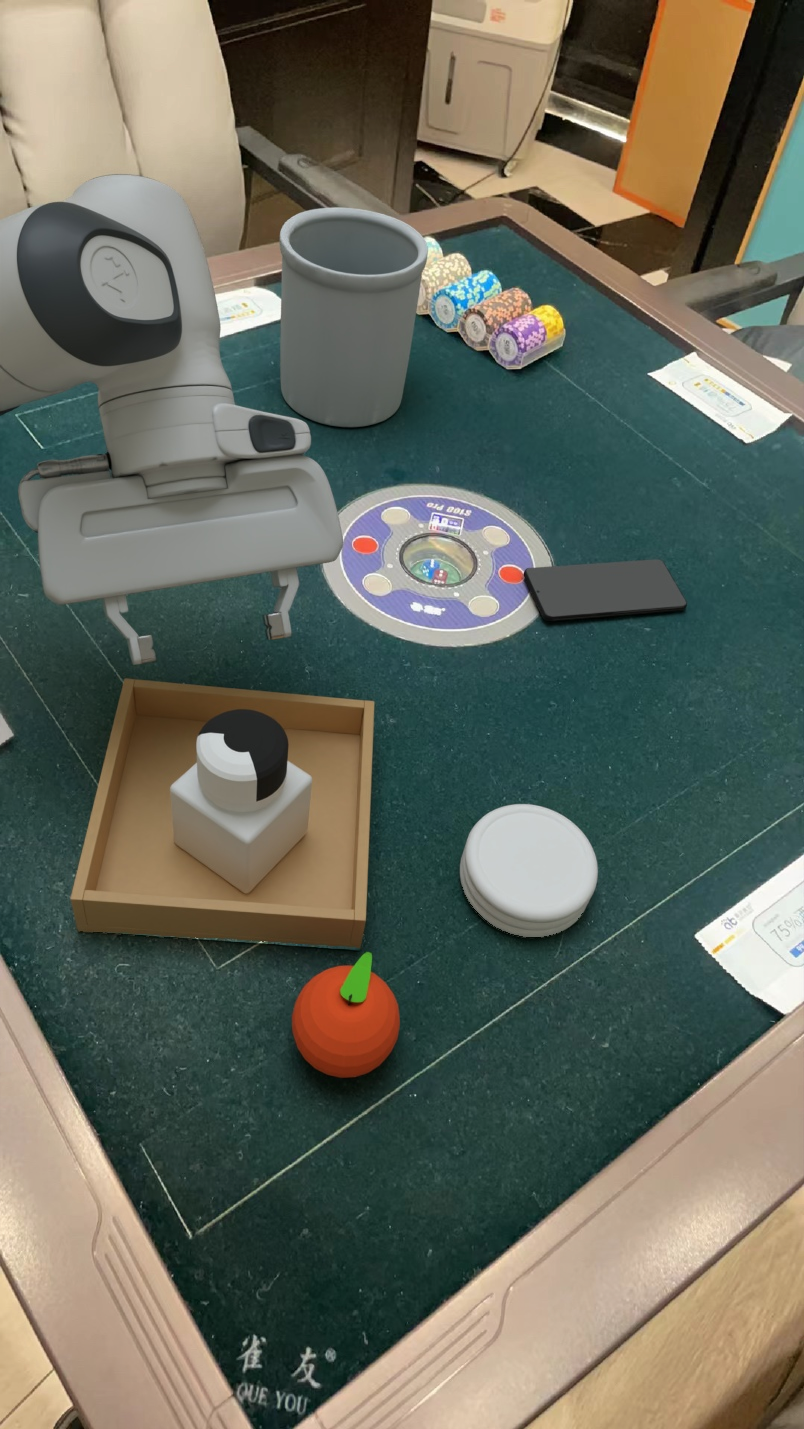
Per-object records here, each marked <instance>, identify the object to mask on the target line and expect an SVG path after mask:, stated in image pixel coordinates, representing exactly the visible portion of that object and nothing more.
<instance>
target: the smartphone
mask: <svg viewBox="0 0 804 1429" xmlns="http://www.w3.org/2000/svg"><path fill="white" fill-rule="evenodd" d="M522 577H523V578H524V581H525V582H526V585H527V587H528V590H529V592H530V594H531V596H532V598H533V601H534V603H535V604H536V606H537V609H538V610H539V613H540V615H541V617H542V619H543V620H544V621H546V622H557V621H558V622H559V621H560V622H561V621H569V620H570V621H571V620H582V619H595V618H605V617H607V618H608V617H618V616H619V617H620V616H631V615H642V614H643V615H644V614H657V613H666V612H668V613H669V612H679V611H684V610H686V608H688V602H687V600H686V598H685V596H684V595H683V593H682V591H681V589H680V588H679V585H678V584H677V583H676V581H675V579H674V577H673V576H672V574H671V572H670V571H669V569H668V567H667V565H666V564H665V562H664V561H663V559H660V558H659V559H658V558H654V559H641V560H640V559H639V560H624V561H612V562H611V561H610V562H609V561H608V562H597V563H596V562H594V563H580V564H568V565H555V566H537V567H528V568H525V569H524V571H523V576H522Z"/></svg>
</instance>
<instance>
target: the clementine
mask: <svg viewBox="0 0 804 1429" xmlns="http://www.w3.org/2000/svg"><path fill="white" fill-rule="evenodd" d="M372 954H373V953H372V952H369V951H366V952H364V953H363V954H362V955H361V956H360V957H359V959H358V960H357V961H356V963H354V964H353V965H351V964H350V965H337V966H334V967H330V968H327V969H325V970H323V971H321V972H320V973H317V974H316V975H314V976H312V978H311V979H310V980H308V982H306V984H304V986H303V987H302V989H301V990H300V993H299V994H298V996H297V998H296V1000H295V1003H294V1007H293V1010H292V1014H291V1027H292V1028H291V1030H292V1035H293V1038H294V1041H295V1044H296V1047H297V1049H298V1051H299V1052H300V1055H301V1056H302V1057H303V1059H304V1060H305V1061H306V1062H307V1063H308V1064H310V1066H311V1067H313V1068H314V1069H315V1070H317V1071H319V1072H321V1073H323V1074H325V1075H327V1076H332V1077H336V1078H342V1079H344V1078H356V1077H361V1076H363V1075H366V1074H369V1073H370V1072H372V1071H373V1070H375V1069H376V1068H379V1066H381V1065H382V1063H384V1061H385V1060H386V1059H387V1058H388V1057H389V1055H390V1054H391V1053H392V1051H393V1049H394V1047H395V1045H396V1043H397V1041H398V1037H399V1034H400V1033H399V1032H400V1027H401V1019H400V1018H401V1017H400V1010H399V1004H398V1001H397V999H396V996H395V994H394V992H393V991H392V990H391V989H390V987H389V985H388V984H387V983H386V981H384V979H382V978H381V977H380V976H378V975H377V974H376V973H374V972H373V971H372V965H373V955H372Z"/></svg>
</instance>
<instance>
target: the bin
mask: <svg viewBox="0 0 804 1429" xmlns="http://www.w3.org/2000/svg"><path fill="white" fill-rule="evenodd" d="M237 709H248V710H254V711H258V712H261V713H264V714H266V715H268V716H270V717H271V718H273V719H274V720H276V721H277V722H278V723H279V724H280V725H281V726H282V728H283V729H284V731H285V733H286V735H287V738H288V744H289V746H288V761H289V762H290V763H292V764H294V765H295V766H297V767H298V768H300V769H301V770H303V771H304V772H306V773H307V774H309V775H310V776H311V777H312V789H311V799H310V809H309V818H308V828H307V832H306V834H305V835H304V836H303V837H302V838H301V839H300V840H299V841H298V842H297V843H296V844H295V846H294V847H293V848H292V849H291V850H290V851H289V852H288V853H287V854H286V855H285V856H284V857H283V858H282V859H281V860H280V861H279V862H278V863H277V864H276V865H275V866H274V867H273V868H272V869H271V871H270V872H269V873H268V874H267V875H266V876H265V877H264V878H263V879H262V880H261V881H260V882H259V883H258V884H257V885H256V886H255V887H254V888H253V889H252V890H251V891H250V892H249V893H246V894H245V893H243V892H242V891H240V890H239V889H238V888H236V887H235V886H233V885H232V884H231V883H229V882H228V881H226V880H225V879H224V878H222V877H221V876H220V875H218V874H217V873H215V872H214V871H213V870H211V869H210V868H208V867H207V866H206V865H204V864H203V863H201V862H200V861H199V860H197V859H196V858H194V857H193V856H192V855H190V854H189V853H188V852H186V851H185V850H183V849H182V848H181V847H179V846H178V845H176V844H175V842H174V835H173V821H172V808H171V794H170V787H171V785H172V784H173V783H174V782H176V781H177V780H178V779H179V778H180V777H181V776H182V775H183V774H184V773H186V772H187V771H188V770H189V769H190V768H191V767H192V766H193V765H195V764H196V763H197V752H196V742H197V737H198V735H199V732H200V730H201V729H202V727H203V726H204V725H205V724H206V723H207V722H208V721H209V720H210V719H212V718H213V717H215V716H217V715H219V714H221V713H224V712H227V711H231V710H237ZM374 725H375V701H374V700H363V699H355V698H354V699H353V698H342V697H330V696H321V695H311V694H309V695H308V694H298V693H287V692H276V691H265V690H254V689H243V688H232V687H224V686H223V687H221V686H210V685H202V684H201V685H198V684H189V683H180V682H179V683H177V682H167V681H156V680H146V679H145V680H144V679H134V678H125V677H124V679H123V682H122V687H121V692H120V695H119V699H118V703H117V708H116V711H115V715H114V720H113V723H112V727H111V732H110V736H109V738H108V739H109V740H108V743H107V748H106V751H105V756H104V760H103V764H102V769H101V772H100V777H99V781H98V785H97V788H96V792H95V796H94V801H93V805H92V808H91V812H90V816H89V817H90V818H89V822H88V825H87V829H86V833H85V837H84V841H83V844H82V849H81V854H80V857H79V861H78V865H77V869H76V874H75V878H74V882H73V886H72V890H71V894H70V899H69V900H70V904H71V907H72V913H73V916H74V919H75V920H74V921H75V925H76V929H77V932H78V933H79V932H80V931H83V932H82V933H93V932H103V933H102V934H106V933H105V932H108V933H110V932H111V933H130V934H148V935H161V936H175V937H190V938H195V937H196V938H219V939H225V938H227V939H237V940H247V941H251V940H252V941H262V942H264V941H268V942H281V943H295V944H310V945H328V946H346V947H356V948H360V949H361V947H362V942H363V937H364V931H365V928H366V923H367V904H368V902H367V900H368V881H369V880H368V879H369V878H368V877H369V855H370V854H369V853H370V826H371V802H372V801H371V800H372V778H373V776H372V775H373V752H374V750H373V748H374Z"/></svg>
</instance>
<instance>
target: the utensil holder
mask: <svg viewBox="0 0 804 1429" xmlns="http://www.w3.org/2000/svg"><path fill="white" fill-rule="evenodd" d="M279 249H280V250H279V251H280V254H281V289H280V290H281V292H280V293H281V295H280V336H279V337H280V338H279V340H280V341H279V343H280V345H279V346H280V350H279V353H280V355H279V356H280V357H279V358H280V359H279V362H280V365H279V369H280V371H279V372H280V374H279V375H280V391H281V394H282V397H283V399H284V401H285V402H286V404H287V405H288V406H289V407H290V408H291V409H292V410H293V411H295V412H296V413H297V414H299V415H300V416H303V417H304V418H306V419H309V420H311V421H313V422H316V423H319V424H323V425H325V426H326V425H327V426H332V427H337V428H338V427H340V428H360V427H361V428H362V427H368V426H372V425H376V424H378V423H382V422H384V421H386V420H388V419H389V418H390V417H392V416H394V414H395V413H396V412H397V411H398V409H399V408H400V406H401V404H402V400H403V395H404V394H403V393H404V388H405V383H406V378H407V372H408V367H409V361H410V355H411V348H412V341H413V335H414V329H415V322H416V321H415V320H416V316H417V310H418V304H419V299H420V298H419V297H420V292H421V285H422V284H421V283H422V275H423V272H424V270H425V268H426V266H427V260H428V254H429V247H428V244H427V241H426V240H425V238H424V237H423V235H422V234H421V233H420V232H419V231H418V230H417V229H415V228H414V227H413V226H411V225H410V224H408V223H406V222H404V221H403V220H400V219H397V218H395V217H394V216H390V215H387V214H385V213H380V212H377V211H372V210H368V209H360V208H355V207H354V208H353V207H337V206H336V207H334V206H333V207H321V208H313V209H309V210H304V211H302V212H299V213H297V214H295V215H293V216H291V217H290V218H289V219H287V220H286V221H285V222H284V224H283V225H282V227H281V229H280V233H279Z"/></svg>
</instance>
